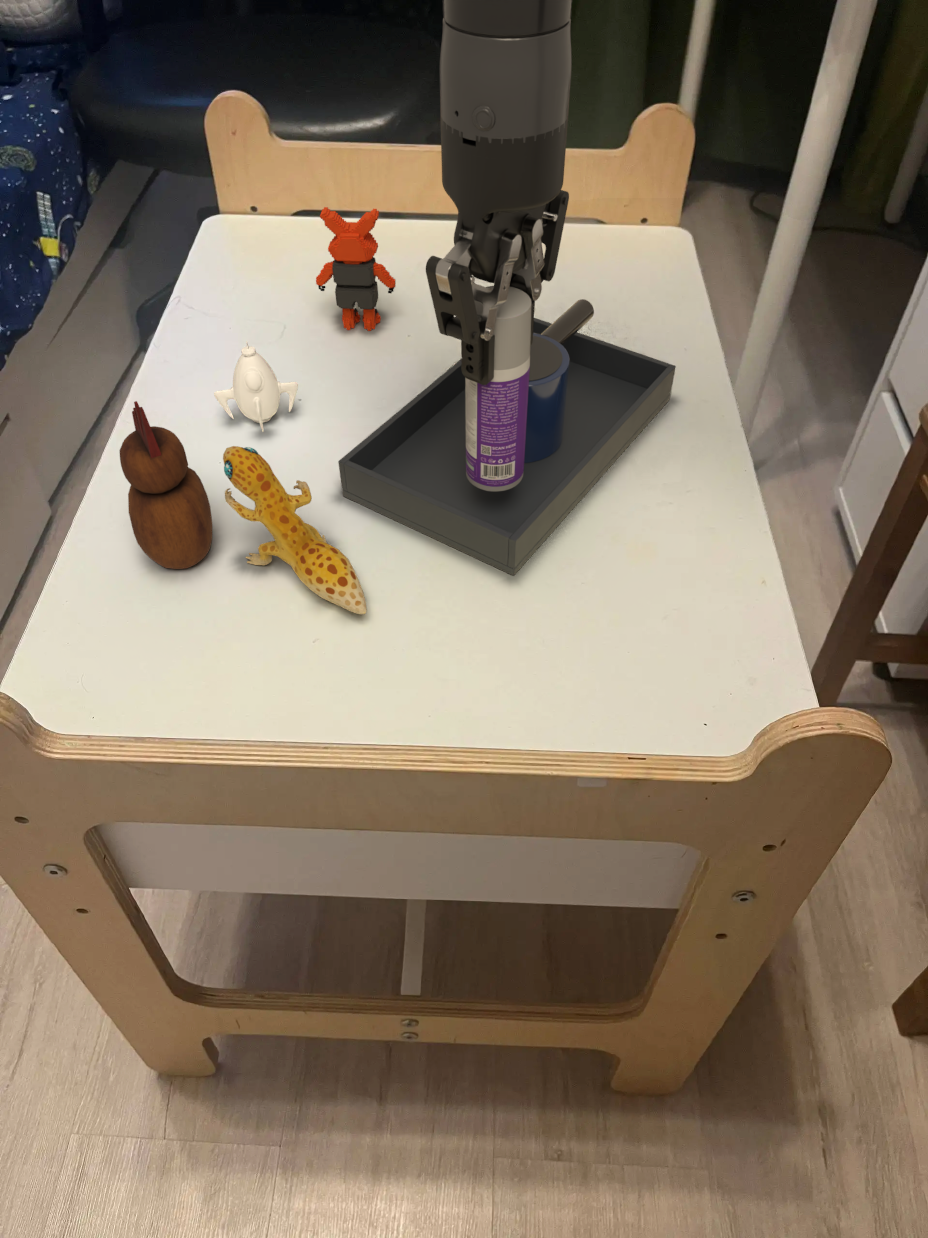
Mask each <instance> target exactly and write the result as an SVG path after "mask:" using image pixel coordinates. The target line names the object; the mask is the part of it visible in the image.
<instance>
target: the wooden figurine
mask: <svg viewBox="0 0 928 1238" xmlns="http://www.w3.org/2000/svg"><path fill="white" fill-rule="evenodd" d="M133 404H134V407H133V408H132V411H131V414H132V420H133V424H134V425H133V426H134V429H135V430H134V431H132V432H130V433H129V434H128V435H127V436H126V437H125V438H124V439H123V442H122V443H121V446H120V447H119V448H120V449H119V461H120V467H121V470H122V473H123V475H124V477H125V479H126V481H127V482H128V483H129V484H130V487H129V490H128V493H127V498H128V499H127V500H128V503H127V504H128V505H127V508H128V516H129V519H130V523H131V527H132V532H133V535H134V538H135V539H136V540H135V541H136V544H137V545H138V546H139V547H140V549H141V550H142V552H143V553H144V554H145V555H146V556H147V557H148V558H149V559H150V560H152V561H153V562H155V563H156V564H157V565H159V566H161V567H163V568H165V569H166V568H167V569H173V570H179V569H182V570H184V569H188V568H191V567H194V566H195V565H197V564H198V563H200V562H201V561H202V560H203V559H205V558H206V557H207V555H208V553H209V552H210V549H211V546H212V541H213V516H212V509H211V504H210V500H209V496H208V494H207V491H206V489H205V486H204V484H203V481H202V480H201V478H200V476H199V475H198V473H197V472H196V470H194V469H192V468H191V467H189V462H188V457H187V453H186V450H185V448H184V444H183V443H182V442H181V440H180V438H179V437H178V436H177V435H176V433H174V432H173V431H171V430H169V429H167V428H165V427H162V426H155V425H154V426H151V425H150V422H149V420H148V418H147V414H146V412H145V410H144V408H143V406H140V405H139V403H138V401H137V400H135V401H133Z"/></svg>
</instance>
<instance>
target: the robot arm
mask: <svg viewBox="0 0 928 1238" xmlns="http://www.w3.org/2000/svg"><path fill="white" fill-rule="evenodd" d="M572 8H573V0H442V34H441V45H440V55H439V103H440V105H439V107H440V109H439V110H440V145H441V146H440V153H441V155H440V156H441V157H440V159H441V183H442V187H443V190H444V192H445V193H446V195H447V196H448V197H449V199H451V201H452V202H453V204H454V205H455V207H456V209H457V220H456V225H455V229H454V234H453V247H452V248H451V249H450V250H449V252H448V253H447V254H446V255H445V256H444V257H443V258H441V257H439V256H435V255H430V257H429V258H428V259H427V261H426V264H425V275H426V279H427V284H428V288H429V293H430V297H431V301H432V304H433V305H432V306H433V309H434V314H435V318H436V322H437V326H438V331H439V334H441V335H444V336H446V337H451V338H454V339H457V340H459V341H460V343H461V344H460V347H461V350H460V351H461V352H460V353H461V355H460V356H461V358H460V360H461V362H462V363H461V370H462V373H463V375H464V377H465V378H467V379H469V380H471V381H474V382H477V383H479V384H482V385H487V384H488V383H489V382H490V381H491V380H492V379H493V378H494V344H495V335H493V332H494V328H495V323H496V317H497V312H498V307H499V306H500V305H502V304H504V303H505V302H506V300H507V296H508V291H509V287H514V288H517V289H520V290H522V291H523V292H525V293H526V294H527V295H528V296H529V297H530V299H531V337H530V346H531V345H532V343H533V326H534V318H535V307H536V301H538V300H539V299H540V297H541V294H542V292H543V291H542V290H543V285H542V284H543V282H544V281H546V282H550V281H552V280H553V278H554V276H555V273H556V268H557V262H558V258H559V252H560V249H561V248H560V247H561V242H562V238H563V237H562V236H563V232H564V226H565V222H566V216H567V210H568V205H569V200H570V193H569V191H567V190H562V188H563V186H564V179H565V178H564V177H565V165H566V154H567V153H566V152H567V151H566V149H567V139H568V124H569V111H570V110H569V109H570V98H571V83H572V66H573V65H572V64H573V60H572V59H573V58H572V57H573V55H572V39H571V37H572V36H571V35H572V33H571V25H572V24H571V23H572V22H571V21H572V19H571V18H572V12H573V11H572ZM543 245H544V246H545V251H544V249H543ZM476 279H477V280H480V281H483V282H486V283H489V284H493V285H492V286H493V289H490V288H487V287H488V286H484V285H481V284H477V282H475V281H476ZM474 300H475V301H478V302H481V303H482V304H483V312H482V318H478V317H477V312H476V306H475V301H474Z"/></svg>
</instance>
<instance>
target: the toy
mask: <svg viewBox="0 0 928 1238" xmlns="http://www.w3.org/2000/svg"><path fill="white" fill-rule="evenodd" d="M222 460H223V472H224V475H225V476H226V477H227V479H228V480H229V481H230V483H231V484H232V486H233V487H234V488H235V489H236V490H238V491H239V492H241V493H242V494H243V495H244V496H245V497H247V498H248V499H250V500H251V501H253V502H254V506H255V507H254V509H251V508H248V507H246V506H244V505H243V504H241V503H240V502H238V501H237V500H236V499H235V497H233V496H232V494H233V493H232V490H231V488H226V489H225V490H224V499H225V502H226V504H228V505H229V507H230V508H232V510H234V511H235V512H236V513H237V514H238V515H239V516H240V517H241V518H242V519H244V520H246V521H250V522H257V523H258V522H259V523H261V524H262V525H263V526H264V527H265V528H266V529H267V531H268V532H269V534H270V535H271V536H272V538H273V539H274V540H270V541H267V542H264V543H260V544H259V546H258V548H257V549H258V553H255V552H249V553H248V555H247V556H245V559H248V560H247V561H246V563H247V564H250V565H255V566H267V565H269V564H270V563H272V561H273V556H275V557H278V559H280V560H282V561H283V562H285V563H286V564H288V565H289V566H291V569H292V570H293V571H294V573H295V575H296V576H297V578H298V579H299V580H300V582H302V584H304V585H305V586H306V587H307V588H308V589H309V590H310V591H311V592H313V593H314V594H315V595H317V596H318V597H320V598H322V599H323V600H326V602H327V601H328V602H329V603H332V604H334V605H336V606H338V607H340V608H343V609H344V610H347V611H349V612H351V613H354V614H356V615H365V614H367V602H366V598H365V594H364V589H363V587H362V585H361V582H360V579H359V577H358V575H357V573H356V571H355V568H354V566H353V565H352V563H351V561H350V559H349V558H348V557H347V556H346V555H345V554H344V553H343V552H342V551H340V549H338V548H336V547H334V546H332V545H331V544H329V543H327V540H326V537H325V535H324V534H322V535H321V534H320V533H319V531H318V529H317V528H315V526H313V525H311V524H309V523H307V522H305V521H304V520H303V519H302V518H301V516H299V514H297V513H296V510H297V509H299V508H302V507H304V506H307V505H309V504H310V503H311V502H312V498H313V497H312V493H311V489H310V486H309V485H308V482H306V481H303V480H299V479H298V480H297V479H296V482H295V483H296V485H294V486H293V490H296V489H297V490H300V492H301V494H295V495H294V494H290V493H288V492H287V491H286V489H285V488H284V486H283V485H282V483H281V482H280V480H279V479H278V477H277V476H276V475H275V473H274V471H273V469H272V467H271V465H270V464H269V463H268V461H266V460H265V458H263V457H262V456H261V454H259V452H258V450H256V449H255V448H253V447H249V446H245V447H242V446H239V445H233V446H229V447H226V448H225V450H224V452H223V454H222Z"/></svg>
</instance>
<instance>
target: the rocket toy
mask: <svg viewBox="0 0 928 1238" xmlns="http://www.w3.org/2000/svg"><path fill="white" fill-rule="evenodd" d="M245 342H246V346H243V347H242V348H241V354H240V356H239V357H238V359H237V362H236V364H235V368H234V370H233V377H232V386H231V387H230V388H229V389H223V390H217V391H214V392H213V395H214V398H215V399H216V401H217V402H218V404H219V405H220V406H221V407H222V409H223V410H224V411H225V412H226V413H227V414H228V416H229V417H230V418H231V419H233V420H234V419H235V418H234V415H233V413H232V411H231V409H230V406H229V404H228V401H229V400H234V401H235V402H236V405H237V406H238V409H239V410H240V412H241V413H242V414H243V415H244V416H245V417H246V418H247V419H249V420H252V421H253V422H254V423H257V424H259V426H260V428H261V431H262V433H264V432H265V431H264V423H267V422H269V421H270V420H271V419H272V417H273V416H275V414H277V412H278V410H279V406H280V401H281V395H282V394H283V393H287V394H288V399H289V401H288V412H289V413H291V411H292V408H293V406H294V403H295V400H296V397H297V393H298V389H299V383H298V382H296V381H289V382H280V381H279V380H278V378H277V376H276V374H275V372H274V370H273V369H272V367H271V365H270V364H269V363H268V362H267V361H266V359H265V358H264V357H263V356H262V354H260V353H259V352H257V350H256V348H255V346H252V345H249V344H248V341H245Z"/></svg>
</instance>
